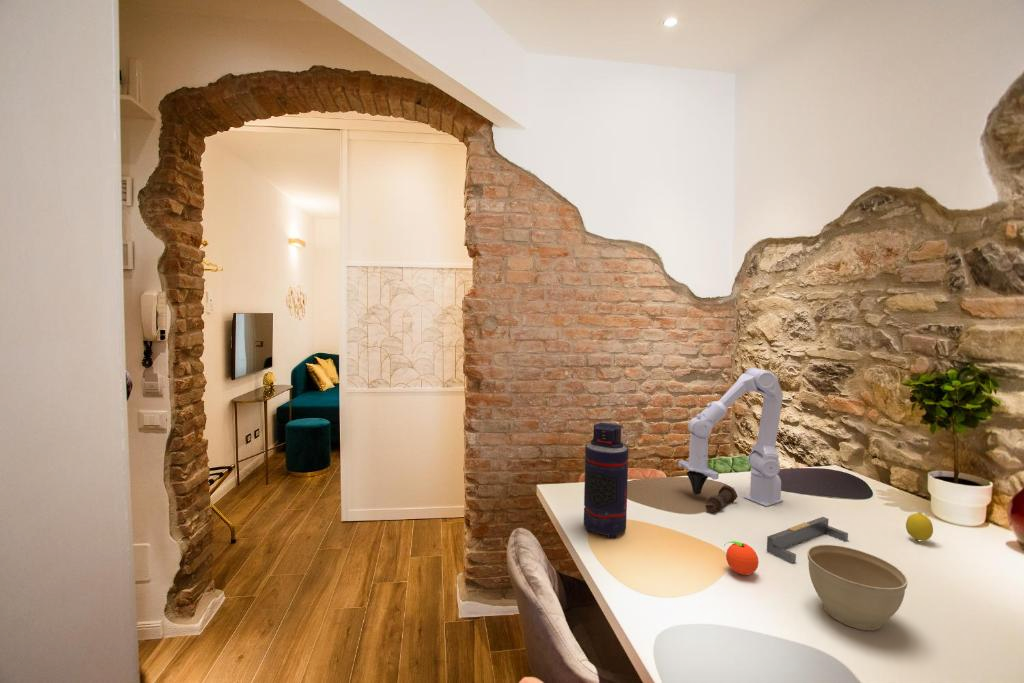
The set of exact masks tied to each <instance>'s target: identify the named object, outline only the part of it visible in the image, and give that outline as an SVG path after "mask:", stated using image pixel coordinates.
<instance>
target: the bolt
mask: <svg viewBox="0 0 1024 683" xmlns="http://www.w3.org/2000/svg"><path fill="white" fill-rule="evenodd" d="M717 493H718V494H717V495H715V494H712V495H711V496H710V497H709V498H708V500H707V502H706V503H705V509H706V511H707V512H709V513H714V512H720V511H721V510H723V509H724V507H725V505H726V504H727V503H731V504H733V503H734V502H735V501H736V500H737V498H738V493H737V492H736V489H735V487H732V486H730V485H725V484H724V485H723V486H721V488H720V489H719V490H718V492H717ZM716 510H717V511H716Z"/></svg>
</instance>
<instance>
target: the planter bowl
mask: <svg viewBox="0 0 1024 683" xmlns="http://www.w3.org/2000/svg"><path fill="white" fill-rule="evenodd" d="M807 561H808V572H809V576H810V580H811V584H812V586H813V588H814V590H815V593H816V594H817V596H818V598H819V599H820V600H821V602H822V606H823V609H824V610H825V612H826V613H827V614H828V615H829V616H830V617H832V618H833V619H834V620H836V621H838V622H840V623H842V624H844V625H845V626H848V627H850V628H851V627H852V628H854V629H859V630H862V631H876V630H879V629H880V628H881V627H882V624H883V623H884V622H885V621H888V620H889V619H890V618H891V617H892V616H893V615H895V614H896V613H897V612H898V610H899V609H900V607H901V606H902V604H903V601H904V598H905V592H906V589H907V587H908V578H907V576H906V574H904V573H903V571H902V570H900V568H898V567H896V565H893V564H892V563H890V562H888V561H887V560H884V559H883V558H881V557H879V556H876V555H873V554H872V553H871V554H870V553H869V552H864V551H861V550H859V549H856V548H852V547H848V546H847V547H846V546H844V545H835V544H834V545H833V544H817V545H814V546H811V547H810V548H808V549H807Z"/></svg>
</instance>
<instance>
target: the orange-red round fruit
mask: <svg viewBox="0 0 1024 683" xmlns="http://www.w3.org/2000/svg"><path fill="white" fill-rule="evenodd" d="M727 543H728V544H729V543H730V544H731V543H732V544H731V545H730V546H728V548H727V550H726V553H725V558H726V561H727V564H728V566H729V568H730V569H731V570H732V571H733V572H735V573H736V574H739V575H742V576H749V575H752V574H753V573H755V572H756V570H757V569H758V568H759V567H758V566H759V562H760V561H759V557H758V553H756V551H755V549H753V548H752V546H750V545H748V544H747V543H744V542H741V541H734V540H732V541H731V540H730V541H728V542H727ZM727 543H725V544H724V546H723V547H725V546H726V545H727Z"/></svg>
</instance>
